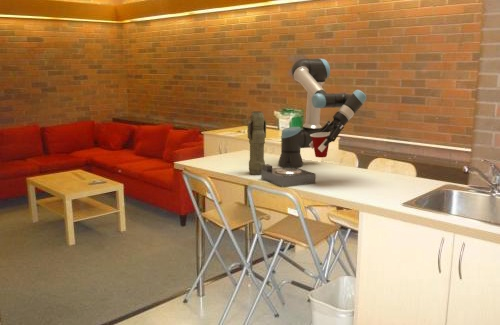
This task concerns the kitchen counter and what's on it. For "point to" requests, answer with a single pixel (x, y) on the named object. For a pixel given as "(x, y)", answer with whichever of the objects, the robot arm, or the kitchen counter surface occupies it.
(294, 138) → the robot arm
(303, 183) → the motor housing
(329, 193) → the kitchen counter surface
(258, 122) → the brown tall upright piece
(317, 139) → the plastic cup
